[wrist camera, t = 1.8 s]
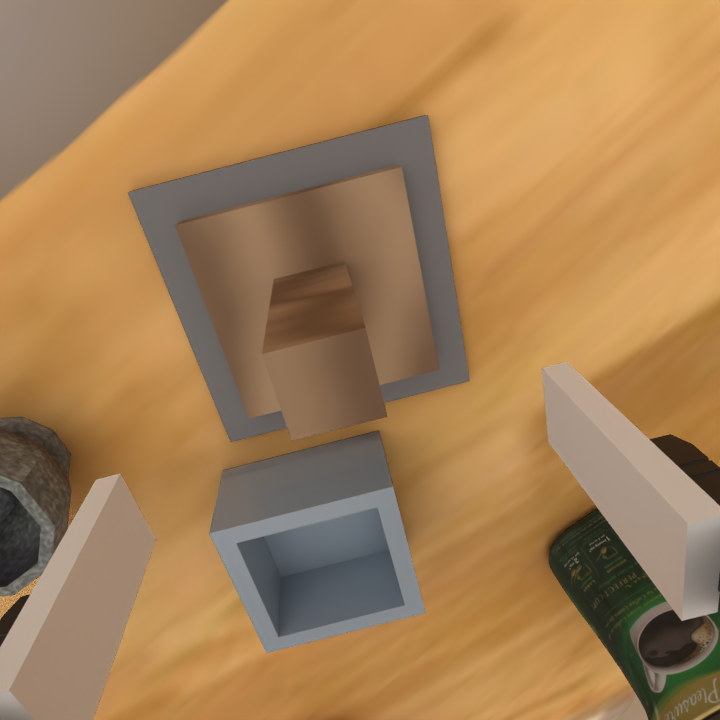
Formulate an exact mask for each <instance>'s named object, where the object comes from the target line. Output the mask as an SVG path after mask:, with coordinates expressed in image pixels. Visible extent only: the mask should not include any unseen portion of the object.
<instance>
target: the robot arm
mask: <svg viewBox="0 0 720 720" xmlns="http://www.w3.org/2000/svg"><path fill="white" fill-rule="evenodd" d="M542 374H543V386H544V397H545V409H546V421H547V432H548V442H549V443H550V445H551V446H552V447H553V449H554V450H555V451H556V453H557V454H558V456H559V457H560V458H561V460H562V461H563V462H564V464H565V465H566V466H567V468H568V469H569V470H570V472H571V473H572V474H573V476H574V477H575V478H576V480H577V481H578V482H579V484H580V485H581V486H582V488H583V489H584V490H585V492H586V493H587V494H588V496H589V497H590V498H591V500H592V501H593V503H594V504H595V505H596V507H597V508H598V509H599V511H600V512H601V513H602V515H603V516H604V517H605V519H606V520H607V521H608V523H609V524H610V525H611V527H612V528H613V529H614V531H615V532H616V533H617V535H618V536H619V537H620V539H621V540H622V541H623V543H624V544H625V545H626V547H627V548H628V550H629V551H630V552H631V554H632V555H633V556H634V558H635V559H636V560H637V562H638V563H639V564H640V566H641V567H642V568H643V570H644V571H645V572H646V574H647V575H648V576H649V578H650V579H651V580H652V582H653V583H654V584H655V586H656V587H657V588H658V590H659V591H660V592H661V594H662V595H663V597H664V598H665V599H666V601H667V602H668V603H669V605H670V606H671V607H672V609H673V610H674V611H675V613H676V614H677V615H678V617H679V618H680V619H681V621H683V620H687V619H692V618H696V617H700V616H704V615H708V614H712V613H716V612H718V603H719V594H720V467H718V466H717V465H716V464H715V463H714V462H713V461H709V459H708V457H707V456H706V455H704V454H703V453H702V452H701V451H700V450H698V449H697V448H696V447H695V446H694V445H693V444H691V443H688V442H686V441H684V440H682V439H679V438H677V437H675V436H673V435H666V436H662V437H658V438H654V439H648V438H647V437H646V436H645V435H644V434H643V433H642V432H641V431H640V430H639V429H638V428H637V427H636V426H635V425H633V424H632V423H631V422H630V421H629V420H628V419H627V418H626V417H625V416H624V415H623V414H622V413H621V412H620V411H619V410H618V409H616V408H615V407H614V406H613V405H612V404H611V403H610V402H609V401H608V400H607V399H606V398H605V397H604V396H603V395H602V394H601V393H600V392H598V391H597V390H596V389H595V388H594V387H593V386H592V385H591V384H590V383H589V382H588V381H587V380H586V379H585V378H584V377H583V376H581V375H580V374H579V373H578V372H577V371H576V370H575V369H574V368H573V367H572V366H571V365H570V364H569V363H568V362H564V363H560V364H556V365H552V366H548V367H544V368H542ZM155 541H156V538H155V536H154V534H153V533H152V531H151V529H150V527H149V525H148V523H147V522H146V520H145V518H144V516H143V514H142V512H141V510H140V509H139V507H138V505H137V503H136V501H135V499H134V498H133V496H132V494H131V492H130V490H129V488H128V487H127V485H126V483H125V481H124V479H123V477H122V475H121V474H116V475H112V476H108V477H105V478H101V479H97V480H96V481H95V482H94V484H93V486H92V488H91V489H90V491H89V493H88V495H87V496H86V498H85V500H84V502H83V503H82V505H81V507H80V509H79V510H78V512H77V514H76V516H75V517H74V519H73V521H72V523H71V524H70V526H69V528H68V530H67V531H66V533H65V535H64V537H63V538H62V540H61V542H60V544H59V545H58V547H57V549H56V551H55V552H54V554H53V556H52V558H51V559H50V561H49V563H48V565H47V566H46V568H45V570H44V572H43V573H42V575H41V577H40V579H39V580H38V582H37V584H36V586H35V587H34V589H33V591H32V593H31V594H30V595H26V596H22V597H20V598H19V600H18V601H17V602H16V603H15V604H14V605H13V606H12V607H11V608H10V609H9V610H8V611H7V612H6V613H5V614H4V615H3V617H2V618H1V620H0V720H93V719H94V716H95V713H96V710H97V707H98V704H99V702H100V699H101V696H102V693H103V690H104V687H105V684H106V682H107V679H108V676H109V673H110V670H111V667H112V664H113V662H114V659H115V656H116V653H117V650H118V647H119V644H120V642H121V639H122V636H123V633H124V630H125V627H126V624H127V622H128V619H129V616H130V613H131V610H132V607H133V604H134V601H135V599H136V596H137V593H138V590H139V587H140V584H141V581H142V579H143V576H144V573H145V570H146V567H147V564H148V561H149V559H150V556H151V553H152V550H153V547H154V544H155Z"/></svg>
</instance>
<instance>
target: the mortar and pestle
mask: <svg viewBox="0 0 720 720" xmlns="http://www.w3.org/2000/svg"><path fill="white" fill-rule="evenodd" d="M70 455H71V454H70V452H69V451H68V450H67V448H66V447H65V446H64V444H63V443H62V442H61V440H60V439H59V437H58V436H57V435H56V433H55V432H54V431H53V430H51V429H49V428H47V427H44V426H42V425H40V424H37V423H35V422H33V421H31V420H28V419H26V418H24V417H12V418H0V596H8V595H15V594H16V593H17V592H19V591H20V590H21V589H23V588H24V587H26V586H27V585H28V584H30V583H31V582H32V581H34V580H35V579H36V578H38V577H39V576H40V575H42V573H43V572H44V570H45V568H46V566H47V565H48V563H49V561H50V559H51V558H52V556H53V554H54V552H55V551H56V549H57V547H58V545H59V544H60V542H61V540H62V538H63V537H64V535H65V533H66V531H67V527H68V517H69V508H70V498H71V489H70V485H69V480H68V474H69V465H70Z"/></svg>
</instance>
